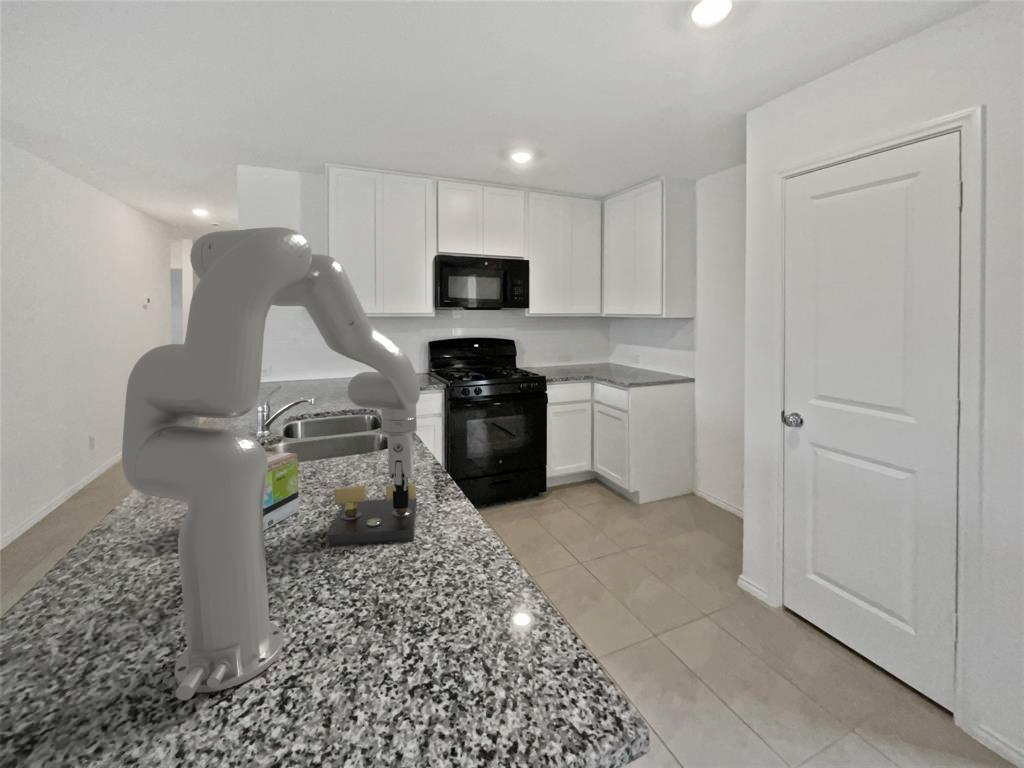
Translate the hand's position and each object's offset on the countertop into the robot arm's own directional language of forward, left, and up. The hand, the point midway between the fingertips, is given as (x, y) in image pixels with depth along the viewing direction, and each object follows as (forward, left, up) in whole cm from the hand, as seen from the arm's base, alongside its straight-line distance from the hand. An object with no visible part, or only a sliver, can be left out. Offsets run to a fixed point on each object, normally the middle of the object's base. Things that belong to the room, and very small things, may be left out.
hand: (401, 503), depth 105 cm
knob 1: (0, +11, -2) cm, 11 cm away
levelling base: (0, +6, -5) cm, 7 cm away
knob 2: (0, 0, -2) cm, 2 cm away
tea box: (+6, +32, -5) cm, 33 cm away
